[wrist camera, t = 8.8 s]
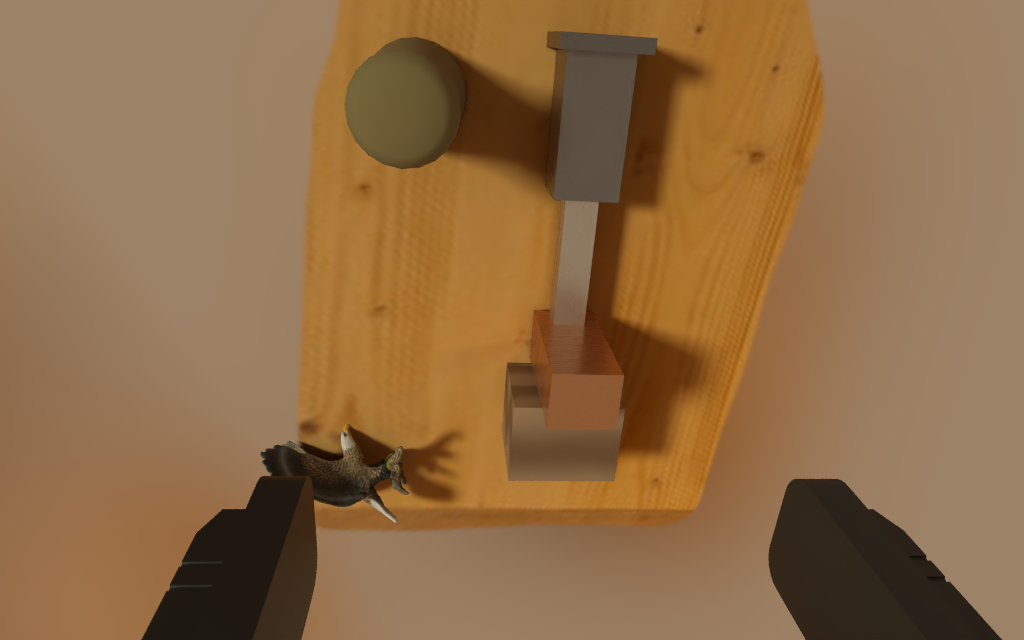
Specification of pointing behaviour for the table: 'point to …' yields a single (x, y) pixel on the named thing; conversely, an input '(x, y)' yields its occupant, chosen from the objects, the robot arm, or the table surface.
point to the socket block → (552, 438)
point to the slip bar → (574, 335)
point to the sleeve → (591, 113)
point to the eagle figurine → (339, 473)
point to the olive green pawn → (406, 103)
